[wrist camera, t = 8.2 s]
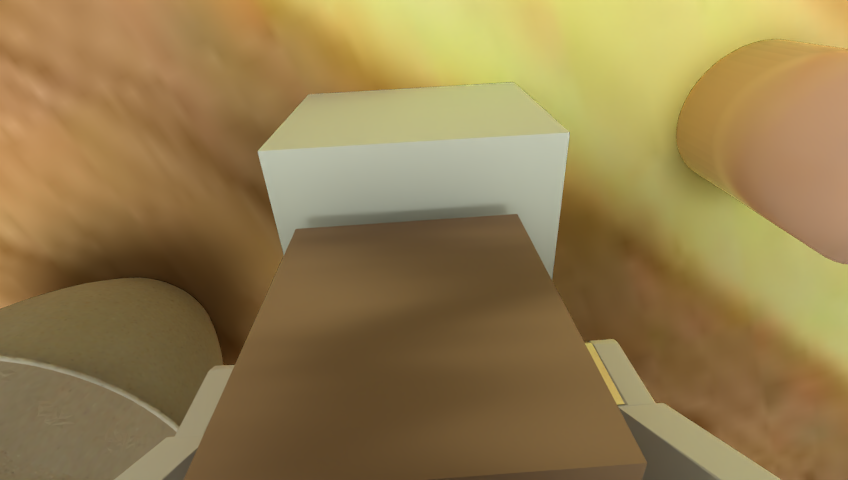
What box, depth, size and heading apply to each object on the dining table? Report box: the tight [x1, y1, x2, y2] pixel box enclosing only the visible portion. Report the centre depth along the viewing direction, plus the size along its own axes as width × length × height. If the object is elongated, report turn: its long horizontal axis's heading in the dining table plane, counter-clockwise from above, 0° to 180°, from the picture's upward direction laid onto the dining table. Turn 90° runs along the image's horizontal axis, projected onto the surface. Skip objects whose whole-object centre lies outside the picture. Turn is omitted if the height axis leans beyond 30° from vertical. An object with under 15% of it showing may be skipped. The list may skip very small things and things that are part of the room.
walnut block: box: [184, 214, 647, 480], centre depth 8 cm, size 5×5×6 cm
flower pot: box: [0, 278, 223, 480], centre depth 16 cm, size 10×10×7 cm
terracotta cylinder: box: [676, 39, 848, 264], centre depth 13 cm, size 5×5×6 cm
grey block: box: [258, 82, 570, 279], centre depth 14 cm, size 7×7×6 cm
